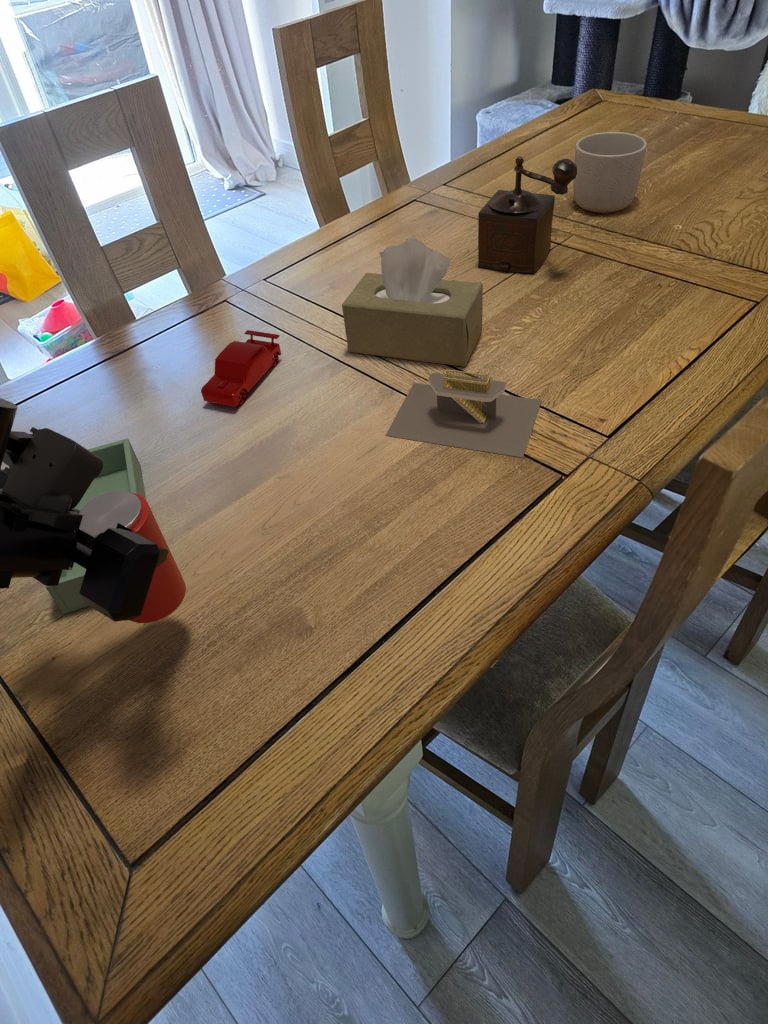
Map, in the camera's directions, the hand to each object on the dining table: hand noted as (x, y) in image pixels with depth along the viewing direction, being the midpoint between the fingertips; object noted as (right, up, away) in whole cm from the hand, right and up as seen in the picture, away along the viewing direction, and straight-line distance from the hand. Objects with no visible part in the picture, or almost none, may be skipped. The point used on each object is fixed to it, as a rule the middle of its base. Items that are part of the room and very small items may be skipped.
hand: (140, 541), depth 63 cm
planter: (+64, +62, +70) cm, 113 cm away
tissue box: (+27, +28, +42) cm, 58 cm away
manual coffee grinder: (+47, +46, +57) cm, 87 cm away
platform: (+33, +15, +29) cm, 46 cm away
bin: (-11, 0, +19) cm, 22 cm away
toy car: (+2, +22, +39) cm, 45 cm away
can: (0, -6, +4) cm, 7 cm away
